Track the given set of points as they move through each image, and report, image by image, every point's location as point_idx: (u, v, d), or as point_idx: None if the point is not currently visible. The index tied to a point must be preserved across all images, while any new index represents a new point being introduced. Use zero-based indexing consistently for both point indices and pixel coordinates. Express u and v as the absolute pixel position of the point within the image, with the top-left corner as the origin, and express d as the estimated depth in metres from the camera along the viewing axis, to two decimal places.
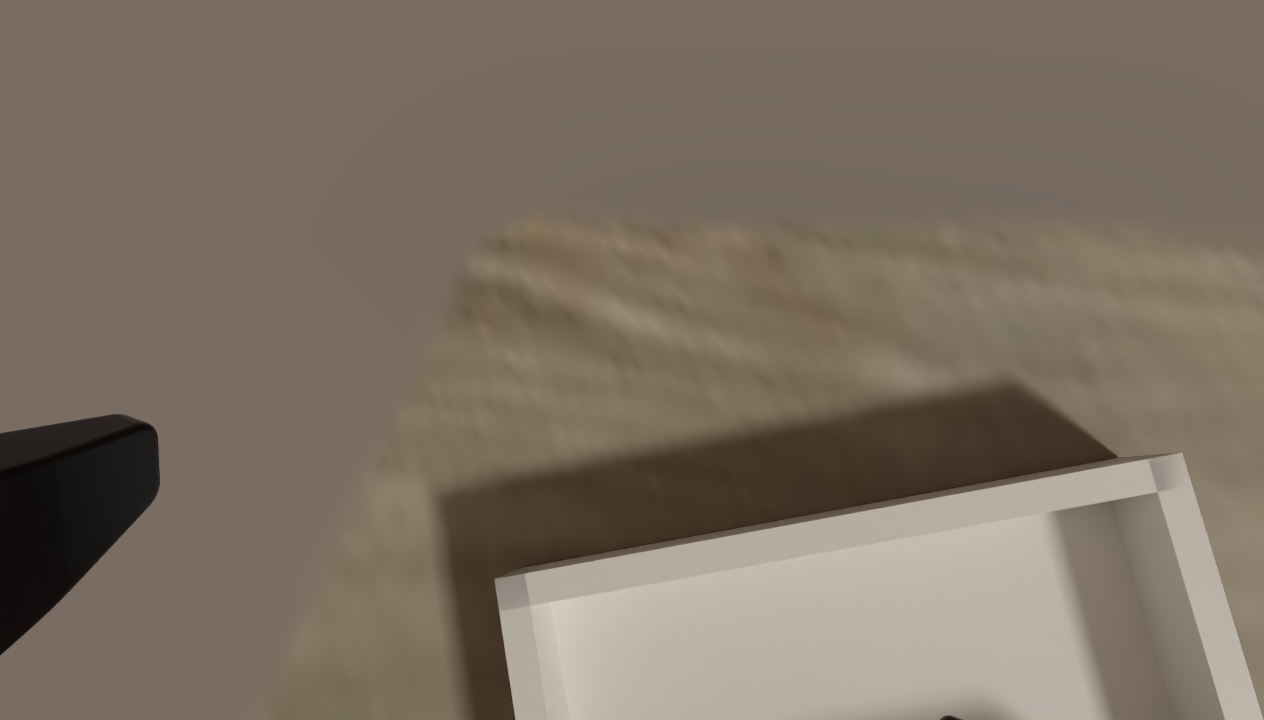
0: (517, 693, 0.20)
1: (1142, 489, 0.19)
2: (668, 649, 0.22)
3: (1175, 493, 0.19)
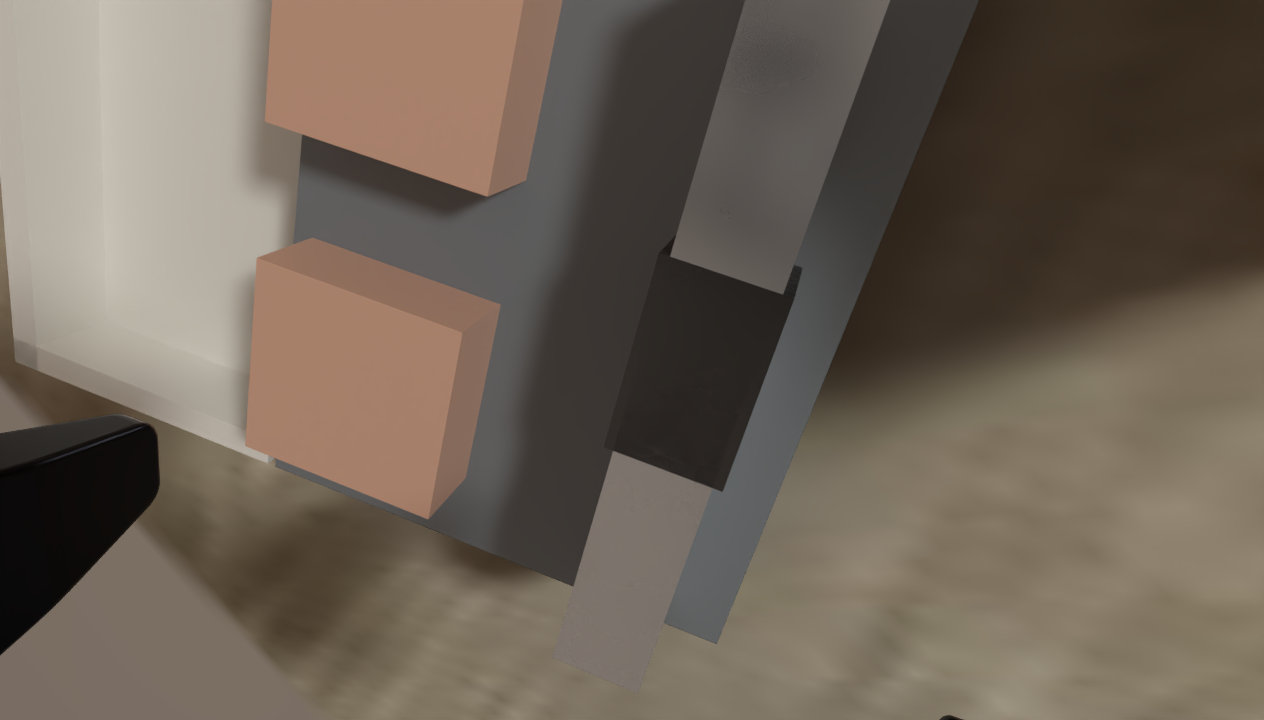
0: (97, 389, 0.23)
1: None
2: (162, 251, 0.24)
3: None
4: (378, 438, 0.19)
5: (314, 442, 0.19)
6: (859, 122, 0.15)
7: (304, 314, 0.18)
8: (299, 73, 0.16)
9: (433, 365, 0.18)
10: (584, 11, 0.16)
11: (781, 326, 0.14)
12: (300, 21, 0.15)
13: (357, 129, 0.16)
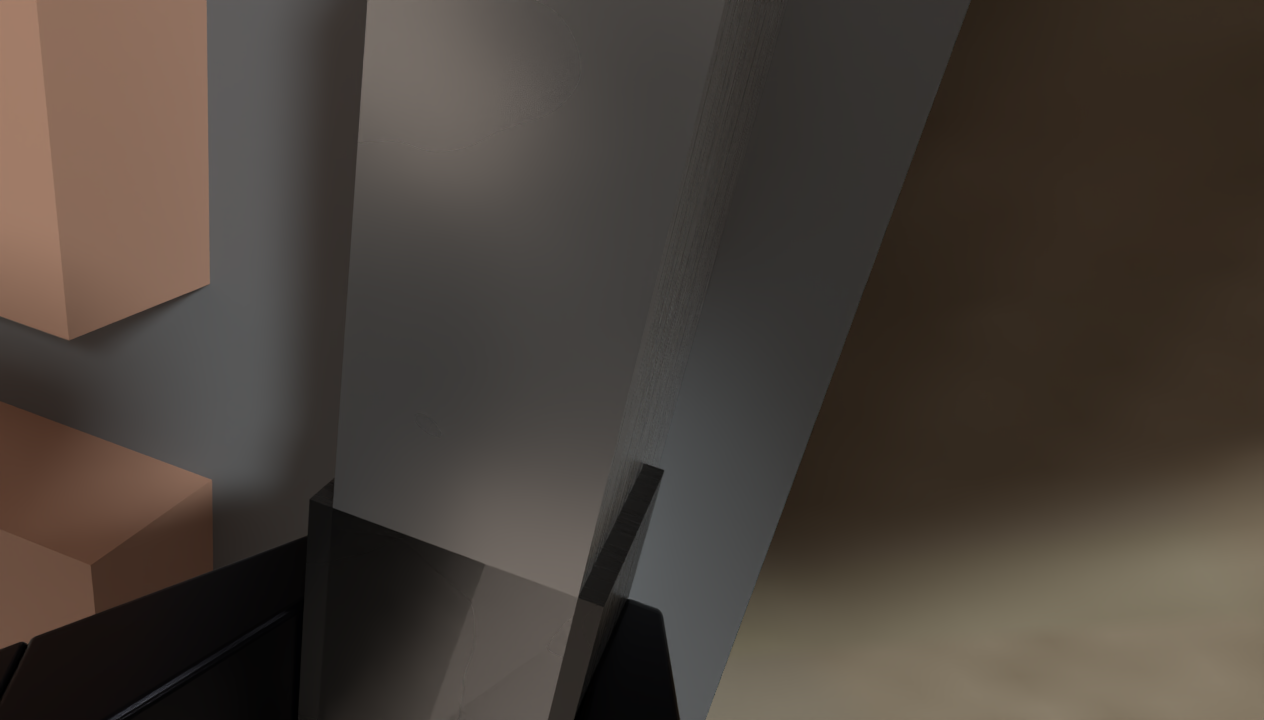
0: None
1: None
2: None
3: None
4: None
5: None
6: (769, 172, 0.08)
7: None
8: None
9: (61, 612, 0.10)
10: None
11: (583, 660, 0.06)
12: None
13: None
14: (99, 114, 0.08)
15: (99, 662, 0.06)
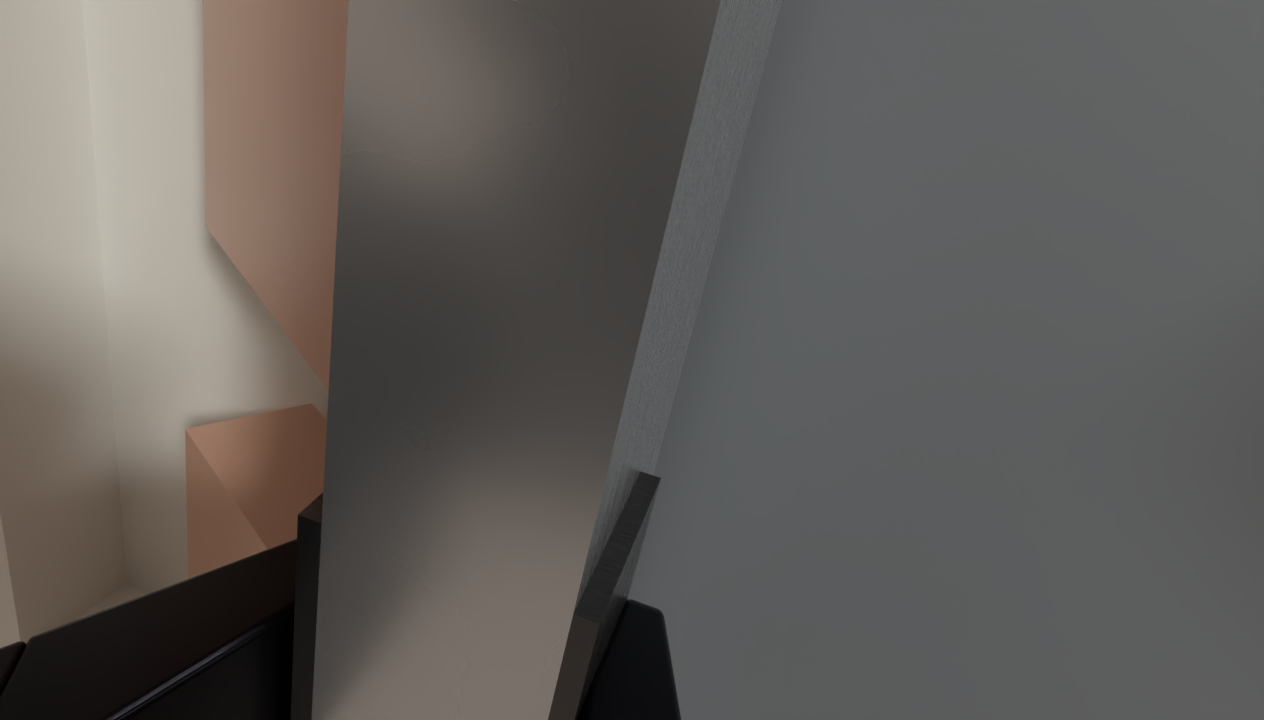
0: None
1: None
2: None
3: None
4: None
5: None
6: None
7: (215, 522, 0.12)
8: (218, 160, 0.10)
9: None
10: (1084, 201, 0.08)
11: (580, 676, 0.06)
12: (216, 83, 0.10)
13: (250, 252, 0.10)
14: None
15: (97, 662, 0.06)
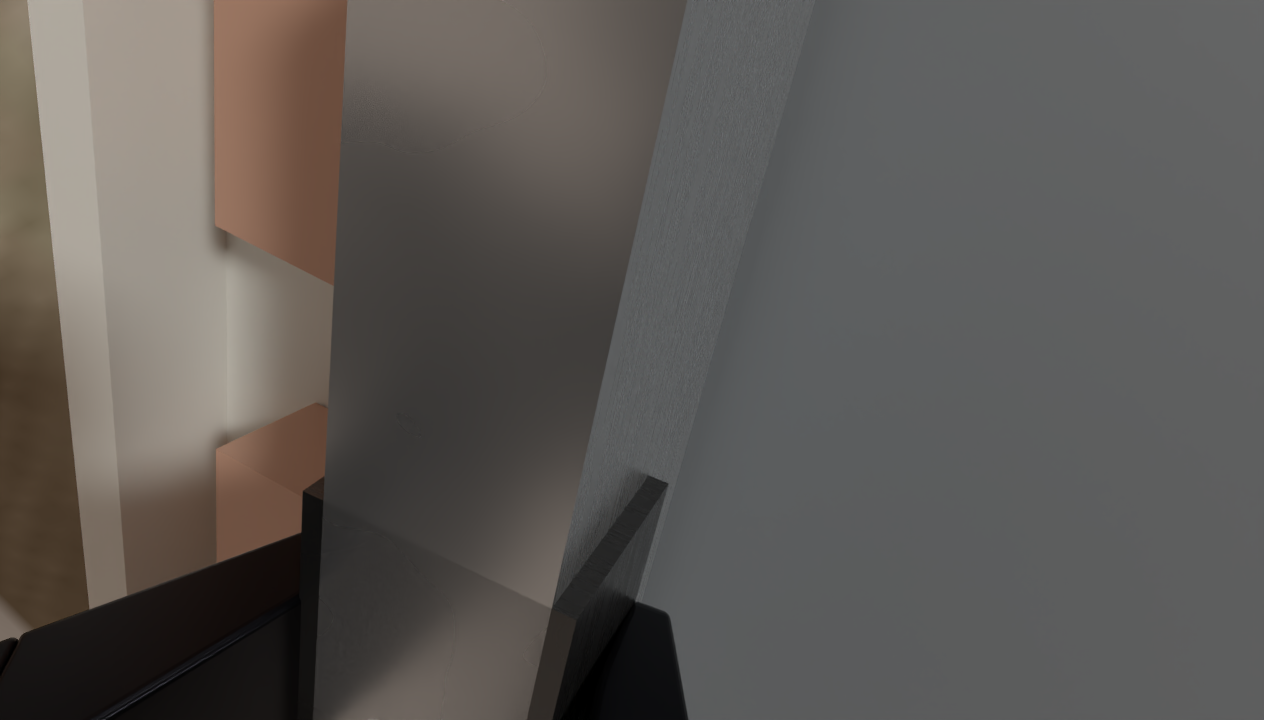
0: None
1: None
2: None
3: None
4: None
5: None
6: None
7: (275, 532, 0.12)
8: (250, 155, 0.10)
9: None
10: None
11: (557, 672, 0.06)
12: (248, 75, 0.10)
13: (325, 246, 0.10)
14: None
15: (90, 657, 0.06)
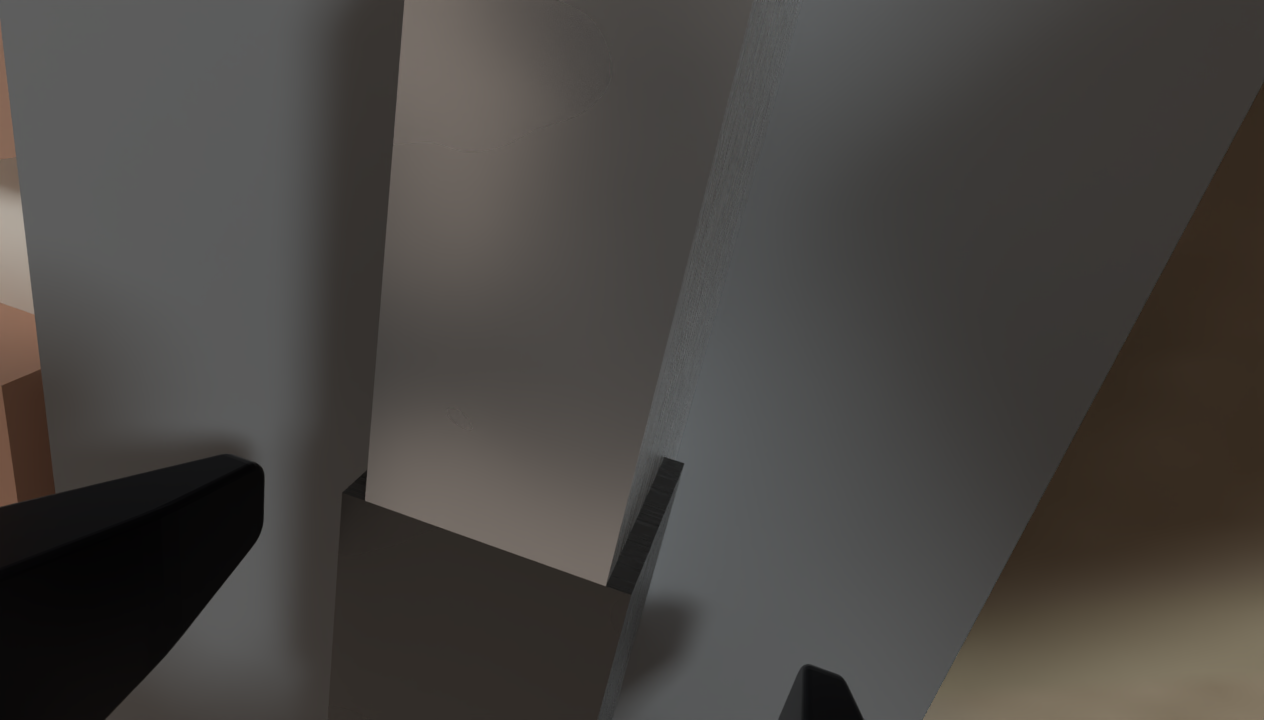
0: None
1: None
2: None
3: None
4: None
5: None
6: (1025, 238, 0.08)
7: None
8: None
9: None
10: None
11: (611, 647, 0.06)
12: None
13: None
14: None
15: None
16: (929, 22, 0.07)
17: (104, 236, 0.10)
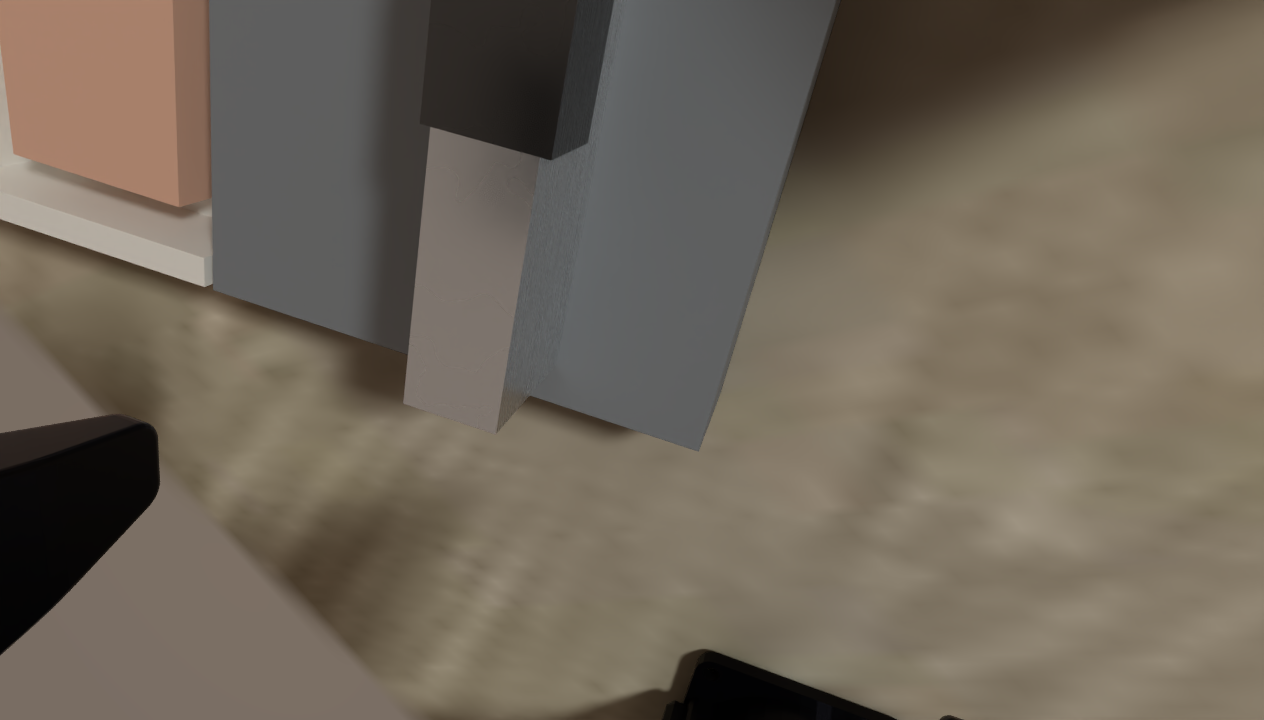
0: (19, 220, 0.21)
1: None
2: None
3: None
4: (122, 125, 0.20)
5: (70, 139, 0.20)
6: None
7: None
8: None
9: (155, 35, 0.19)
10: None
11: None
12: None
13: None
14: None
15: None
16: None
17: None
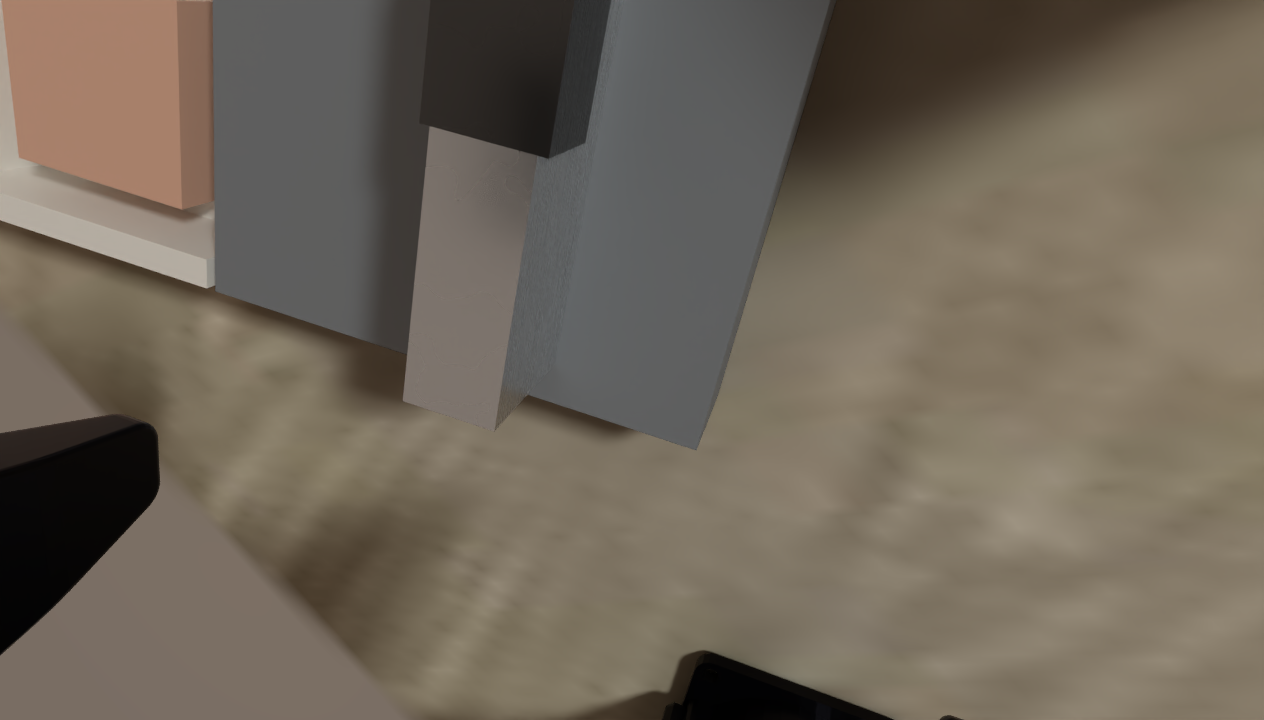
0: (24, 222, 0.22)
1: None
2: None
3: None
4: (126, 128, 0.20)
5: (75, 143, 0.21)
6: None
7: (44, 4, 0.19)
8: None
9: (159, 40, 0.19)
10: None
11: None
12: None
13: None
14: None
15: None
16: None
17: None
